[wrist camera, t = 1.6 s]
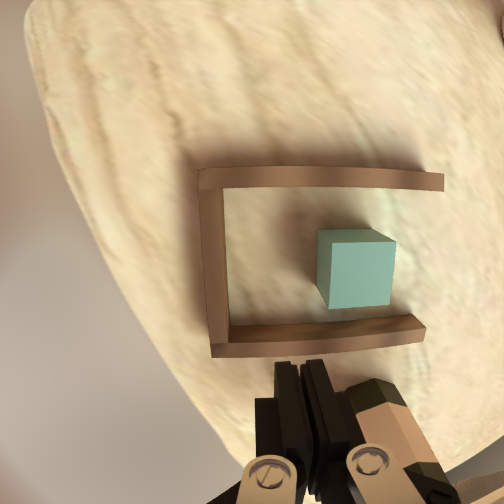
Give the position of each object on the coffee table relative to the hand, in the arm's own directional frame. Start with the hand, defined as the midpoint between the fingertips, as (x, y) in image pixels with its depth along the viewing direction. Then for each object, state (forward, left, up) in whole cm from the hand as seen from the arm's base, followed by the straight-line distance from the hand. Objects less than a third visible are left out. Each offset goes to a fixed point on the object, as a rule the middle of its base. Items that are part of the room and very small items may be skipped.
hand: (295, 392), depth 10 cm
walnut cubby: (-6, 0, -17) cm, 18 cm away
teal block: (-7, 0, -17) cm, 18 cm away
